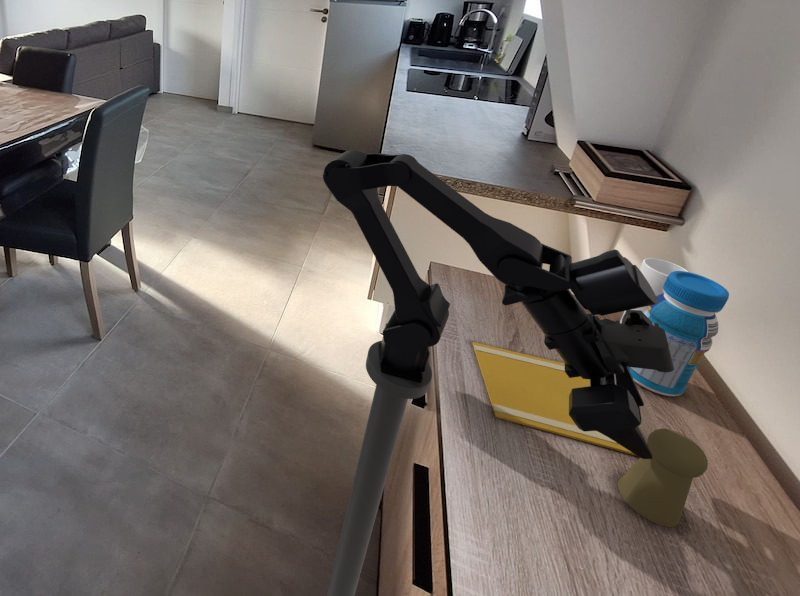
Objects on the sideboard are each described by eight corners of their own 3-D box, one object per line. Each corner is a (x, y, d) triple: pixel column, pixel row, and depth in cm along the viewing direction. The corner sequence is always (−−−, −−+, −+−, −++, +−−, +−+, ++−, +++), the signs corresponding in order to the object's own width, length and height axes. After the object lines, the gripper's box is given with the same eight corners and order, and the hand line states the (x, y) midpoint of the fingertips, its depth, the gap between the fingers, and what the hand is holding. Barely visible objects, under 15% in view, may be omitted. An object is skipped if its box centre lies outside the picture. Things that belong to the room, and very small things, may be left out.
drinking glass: (649, 349, 85) (682, 283, 79) (606, 324, 90) (635, 261, 85) (667, 338, 87) (700, 274, 82) (624, 315, 93) (653, 254, 88)
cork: (662, 486, 61) (697, 428, 57) (691, 535, 56) (731, 475, 52) (608, 470, 63) (638, 413, 59) (631, 516, 58) (666, 456, 54)
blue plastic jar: (631, 389, 76) (680, 292, 69) (609, 352, 83) (651, 261, 76) (695, 406, 73) (754, 307, 66) (666, 367, 81) (716, 274, 74)
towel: (495, 417, 70) (496, 414, 70) (472, 343, 84) (472, 341, 84) (653, 460, 64) (655, 458, 64) (600, 373, 79) (601, 371, 79)
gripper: (645, 351, 48) (751, 491, 45) (629, 270, 62) (710, 373, 59) (533, 369, 55) (620, 490, 53) (542, 292, 69) (611, 386, 67)
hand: (643, 430), depth 58 cm, fingers open, 9 cm apart
